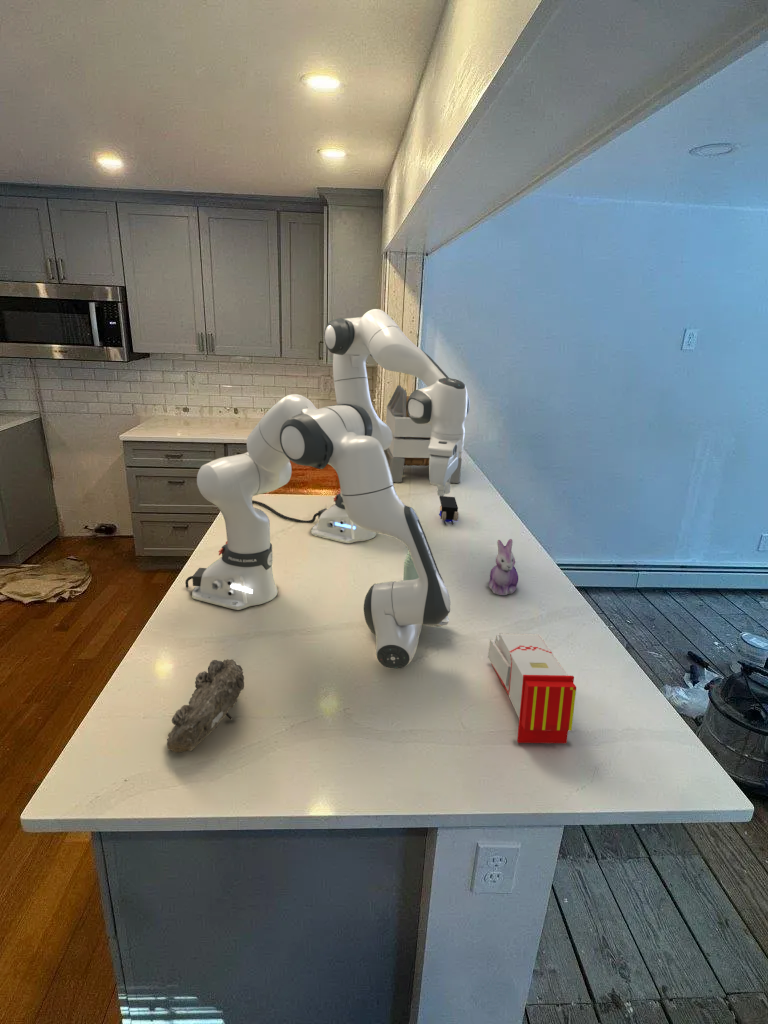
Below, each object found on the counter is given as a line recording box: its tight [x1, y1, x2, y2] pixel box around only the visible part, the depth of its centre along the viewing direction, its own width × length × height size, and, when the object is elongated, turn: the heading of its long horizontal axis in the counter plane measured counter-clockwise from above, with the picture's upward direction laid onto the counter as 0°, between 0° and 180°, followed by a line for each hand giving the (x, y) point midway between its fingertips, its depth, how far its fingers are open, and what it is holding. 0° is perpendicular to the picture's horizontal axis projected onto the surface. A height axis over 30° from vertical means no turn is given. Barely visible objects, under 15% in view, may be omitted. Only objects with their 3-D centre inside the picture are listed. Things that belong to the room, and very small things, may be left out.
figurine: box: [488, 538, 519, 596], centre depth 161 cm, size 9×10×15 cm
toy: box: [487, 632, 577, 744], centre depth 116 cm, size 12×13×30 cm
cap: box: [435, 482, 452, 495], centre depth 153 cm, size 4×4×2 cm
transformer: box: [384, 384, 463, 484], centre depth 268 cm, size 34×33×41 cm
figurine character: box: [438, 495, 459, 526], centre depth 214 cm, size 7×8×15 cm
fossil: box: [166, 658, 245, 754], centre depth 106 cm, size 22×10×15 cm
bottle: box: [402, 551, 419, 581], centre depth 144 cm, size 5×5×20 cm
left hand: (411, 593), depth 147 cm, fingers closed on bottle, 5 cm apart
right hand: (443, 492), depth 153 cm, fingers closed on cap, 3 cm apart
